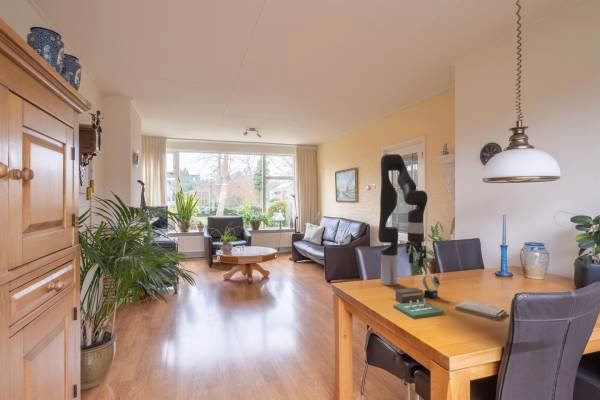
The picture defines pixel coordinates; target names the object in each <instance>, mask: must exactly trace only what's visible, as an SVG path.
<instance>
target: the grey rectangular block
mask: <svg viewBox="0 0 600 400" xmlns="http://www.w3.org/2000/svg"><path fill="white" fill-rule="evenodd" d="M423 295H424V290H422V289H421V288H419V287H410V288H402V289H395V301H397V302H399V304H404V303H410V301H412V302H417V300H419V301H423V302H424V296H423Z"/></svg>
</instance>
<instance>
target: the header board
mask: <svg viewBox="0 0 600 400" xmlns="http://www.w3.org/2000/svg"><path fill="white" fill-rule="evenodd" d="M392 307H393V308H394V309H395V310H396V311H399V312H401V313H402V314H404V315H407V316H408V317H409V318H411V319H418V318H425V317H426V318H427V317H430V316H438V315H444V314H445V311H444V310H442V309H440V308H438V307H436V306H434V305H432V304H429V303H427V302H426V299H425V298H423V301H419V300H417V301H416V302H412V301H410V302H408V303H399V304H398V303H397V304H393V306H392Z"/></svg>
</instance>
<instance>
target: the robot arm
mask: <svg viewBox="0 0 600 400" xmlns="http://www.w3.org/2000/svg"><path fill="white" fill-rule="evenodd" d="M392 171H395V172H396V171H398V173H399V174H398V177H397V184H398V186H399V188H400V189H401V191H402V195H403V201H404V203H405V204H407V205H409V206H416V207H415V209H411V210H409V211H408V213H407V241H406V245H405V248H406V249H405V251H406V252H405V253H406V254H407V256H408V264H414V261H415V259H414V258H415V257H414V255H415V256H416V257H417V267H418V268H423V266H424V259H427V246H426V245H422V243H423V242H425V225H424V224H425V223H424V214H425V211H426V206H427V203H428V193H427V192H426V191H425V190H421V189H420V190H417V184H416V182H415V181H414V180H413V178H412V177H411V176H410V174H409V172H408V168H407V166H406V163H405V161H404V159H403V157H402V156H401V155H400V154H398V153H390V154H389V153H388V154H386V153H385V154H383V155H381V157H380V178H381V179H380V180H381V181H380V197H379V198H380V199H379V200H380V201H379V208H380V209H379V211H380V212H379V224H378V236H377V237H378V241H379V242H380V243H384V244H385V243H387V244H388V243H389V245H388V246H386V247H384V248H382V249H381V250H380V261H381V264H380V265H381V266H380V283H381V285H384V286H398V285H399V283H398V282H399V279H398V278H399V274H398V272H399V271H398V268H399V267H398V265H399V263H398V260H399V259H398V256H399V255H398V254H399V253H398V249H399V229H398V228H397V227H396V226H387V223H388V221H389V220H388V219H389V218H390V216H392V213H394V211H395V209H396V208H397V206H398V193H397V190H396V188H395V187H394V185H393V183H392V182H391V179H390V174H389V172H392Z"/></svg>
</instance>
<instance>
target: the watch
mask: <svg viewBox="0 0 600 400" xmlns="http://www.w3.org/2000/svg"><path fill="white" fill-rule="evenodd" d="M427 277H430V278H431V282H432V284H433V286H435V289H433V288H429V286H428V284H427V281H426V278H427ZM440 282H441V281H440V279H439V278H438V277H437V276H435V275H434V274H427V275H425V276H424V277H423V278H422V284H423V287H424V289H426V290H423V295H424V296H423V298H427V299H432V300H433V299H435V298H437V297H438V296H439V295H438V293H439V291H438V289H439V287H440V285H441V283H440Z"/></svg>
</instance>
